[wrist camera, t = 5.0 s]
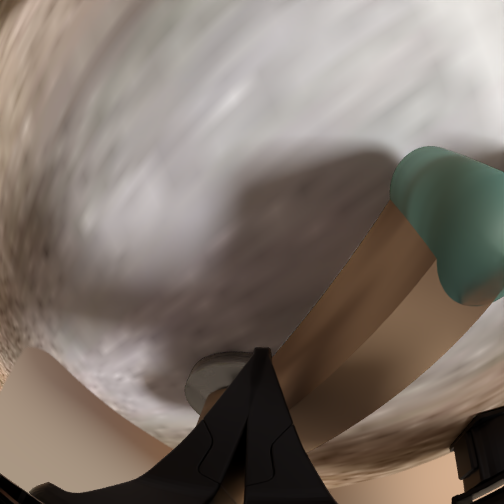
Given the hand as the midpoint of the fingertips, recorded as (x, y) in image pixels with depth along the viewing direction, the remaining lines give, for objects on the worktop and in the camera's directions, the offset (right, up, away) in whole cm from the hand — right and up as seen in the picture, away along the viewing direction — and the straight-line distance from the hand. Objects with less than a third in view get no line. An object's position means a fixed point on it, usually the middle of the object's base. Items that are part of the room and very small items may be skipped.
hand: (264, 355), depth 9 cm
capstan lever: (+2, -1, +3) cm, 4 cm away
